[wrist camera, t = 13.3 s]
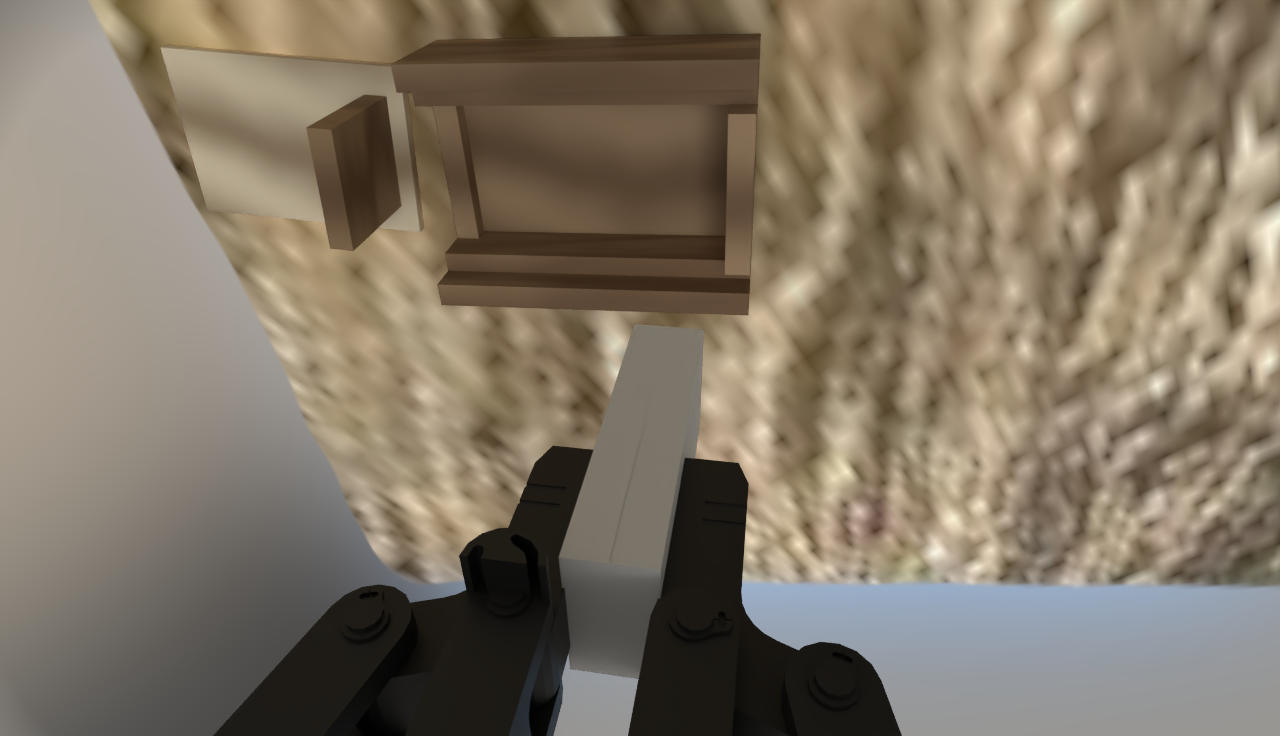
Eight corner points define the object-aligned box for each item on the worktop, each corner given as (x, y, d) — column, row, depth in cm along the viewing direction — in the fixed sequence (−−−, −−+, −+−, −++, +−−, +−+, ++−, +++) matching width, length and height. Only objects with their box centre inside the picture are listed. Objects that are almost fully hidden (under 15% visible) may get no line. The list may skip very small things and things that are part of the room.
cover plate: (172, 43, 40) (73, 73, 34) (407, 63, 39) (344, 97, 33) (217, 204, 45) (137, 253, 40) (426, 225, 44) (375, 279, 38)
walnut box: (437, 39, 38) (390, 64, 33) (760, 33, 35) (758, 59, 31) (476, 258, 44) (441, 304, 40) (750, 265, 42) (748, 315, 37)
